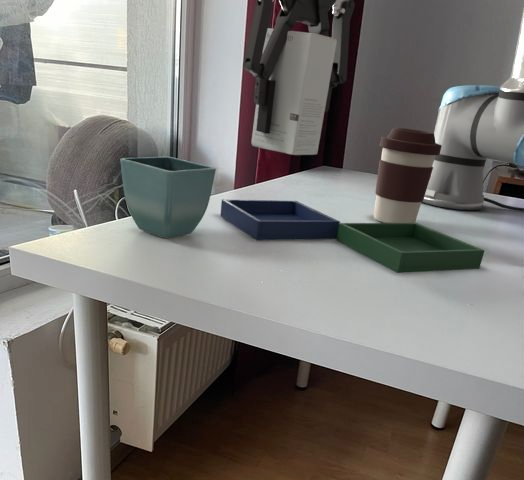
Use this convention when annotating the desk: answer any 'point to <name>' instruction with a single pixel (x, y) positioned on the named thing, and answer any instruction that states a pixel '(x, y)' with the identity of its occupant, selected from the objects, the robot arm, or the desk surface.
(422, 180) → the coffee cup
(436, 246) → the green tray
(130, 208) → the flower pot
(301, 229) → the navy tray
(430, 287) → the desk surface
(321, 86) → the cosmetic box
